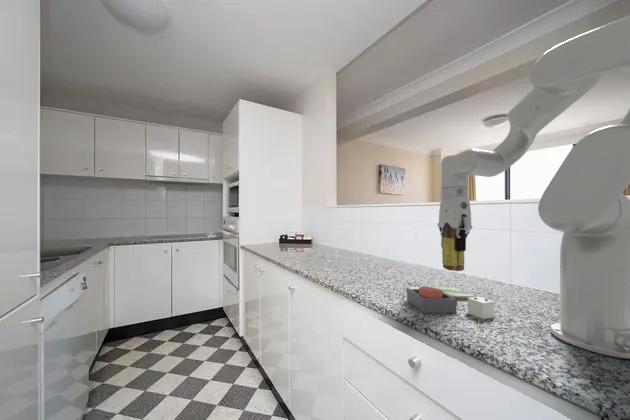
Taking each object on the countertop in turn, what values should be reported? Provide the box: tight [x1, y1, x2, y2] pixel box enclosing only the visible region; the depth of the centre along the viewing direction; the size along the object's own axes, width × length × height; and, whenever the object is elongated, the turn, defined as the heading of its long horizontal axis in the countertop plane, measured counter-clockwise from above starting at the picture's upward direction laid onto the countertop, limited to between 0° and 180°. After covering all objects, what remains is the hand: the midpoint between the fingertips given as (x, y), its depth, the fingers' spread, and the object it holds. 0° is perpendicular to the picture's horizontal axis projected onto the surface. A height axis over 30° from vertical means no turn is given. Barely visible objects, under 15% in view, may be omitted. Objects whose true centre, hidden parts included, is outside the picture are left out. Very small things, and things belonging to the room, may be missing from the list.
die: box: [467, 296, 495, 320], centre depth 62 cm, size 4×4×4 cm
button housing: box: [406, 288, 458, 314], centre depth 68 cm, size 9×9×4 cm
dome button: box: [419, 286, 443, 298], centre depth 68 cm, size 6×6×3 cm
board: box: [406, 286, 477, 301], centre depth 78 cm, size 10×18×1 cm, turn 95°
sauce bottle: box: [441, 209, 465, 272], centre depth 79 cm, size 7×6×20 cm
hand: (452, 248), depth 79 cm, fingers closed on sauce bottle, 6 cm apart
